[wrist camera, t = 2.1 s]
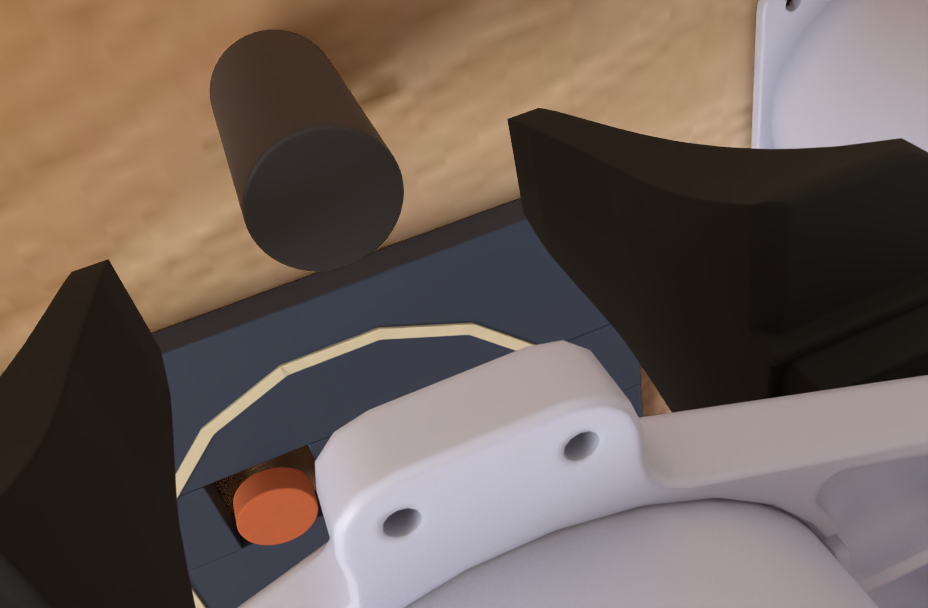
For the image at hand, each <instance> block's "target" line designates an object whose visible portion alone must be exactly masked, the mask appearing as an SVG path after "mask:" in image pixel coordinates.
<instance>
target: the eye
mask: <svg viewBox="0 0 928 608" xmlns="http://www.w3.org/2000/svg"><path fill="white" fill-rule="evenodd" d="M233 506H234V512H235V518H236V524H237V529H238V531H239V533H240V534H241V535H242V536H243V537H244V538H245V539H246V540H248V541H250V542H252V543H255V544H259V545H276V544H281V543H285V542H288V541H291V540H293V539H295V538H297V537H299V536H300V535H302V534H303V533H305V532H306V531H307V530H308V529H309V528H310V527H311V526H312V524H313V523H314V521H315V520H316V517H317V514H318V503H317V499H316V495H315V492H314V488H313V485H312V482H311V480H310V478H309V477H308V476H307V475H306V474H305V473H303V472H302V471H300V470H297V469H294V468H290V467H274V468H269V469H265V470H262V471H260V472H257V473H255V474H253V475H252V476H250V477H249V478H247V479H246V480H245V481H244V482H243V483H242V484H241V485H240V486H239V488H238V489H237V491H236V493H235V495H234V499H233Z"/></svg>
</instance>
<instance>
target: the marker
mask: <svg viewBox="0 0 928 608" xmlns="http://www.w3.org/2000/svg"><path fill="white" fill-rule="evenodd" d="M210 100H211V105H212V109H213V113H214V116H215V120H216V123H217V127H218V130H219V133H220V137H221V140H222V144H223V147H224V151H225V154H226V158H227V161H228V165H229V168H230V172H231V175H232V179H233V182H234V186H235V189H236V193H237V196H238V200H239V203H240V207H241V210H242V214H243V217H244V221H245V223H246V226H247V229H248V231H249V233H250V235H251V237H252V238H253V240H254V241H255V242H256V244H257V245H258V246H259V247H260V248H261V249H262V250H263V251H264V252H265V253H266V254H268V255H269V256H270V257H271V258H273V259H275V260H277V261H278V262H280V263H282V264H285V265H287V266H289V267H293V268H296V269H300V270H307V271H328V270H334V269H339V268H342V267H346V266H349V265H351V264H353V263H356V262H358V261H360V260H361V259H363V258H365V257H367V256H368V255H369V254H371V253H372V252H373V251H375V250H376V249H377V248H378V247H379V246H380V245H381V244H382V243H383V242H384V241H385V240H386V239H387V237H388V236H389V234H390V233H391V232H392V230H393V228H394V226H395V225H396V223H397V221H398V218H399V215H400V212H401V208H402V204H403V196H404V187H403V179H402V174H401V171H400V169H399V166H398V164H397V162H396V160H395V158H394V156H393V155H392V153H391V152H390V150H389V149H388V147H387V146H386V144H385V143H384V141H383V140H382V138H381V137H380V135H379V134H378V132H377V131H376V129H375V128H374V126H373V125H372V123H371V122H370V120H369V119H368V117H367V116H366V114H365V113H364V111H363V110H362V108H361V107H360V105H359V104H358V102H357V101H356V99H355V98H354V96H353V95H352V93H351V92H350V90H349V89H348V87H347V86H346V84H345V83H344V81H343V80H342V78H341V77H340V75H339V74H338V72H337V71H336V69H335V68H334V66H333V65H332V63H331V62H330V60H329V59H328V58H327V56H326V55H325V54H324V52H323V51H322V50H321V49H320V48H319V47H318V46H317V45H315V44H314V43H313V42H312V41H310V40H308V39H307V38H305V37H303V36H301V35H298V34H296V33H292V32H289V31H283V30H265V31H259V32H255V33H252V34H249V35H247V36H245V37H243V38H241V39H239V40H238V41H236V42H235V43H234V44H232V45H231V46H230V47H229V48H228V49H227V50H226V51H225V52H224V53H223V55H222V56H221V57H220V59H219V60H218V62H217V64H216V66H215V68H214V71H213V73H212V77H211V82H210Z"/></svg>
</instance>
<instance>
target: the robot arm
mask: <svg viewBox="0 0 928 608" xmlns="http://www.w3.org/2000/svg"><path fill="white" fill-rule="evenodd" d="M786 2H787V0H759V2H758V5H757V12H756V37H755V63H754V88H753V114H752V139H751V148H731V147H718V146H709V145H701V144H692V143H685V142H678V141H672V140H667V139H662V138H657V137H652V136H647V135H643V134H638V133H634V132H630V131H626V130H622V129H618V128H614V127H611V126H607V125H603V124H600V123H596V122H592V121H589V120H585V119H582V118H578V117H575V116H571V115H568V114H564V113H560V112H556V111H552V110H548V109H542V108H538V109H535V110H532V111H529V112H526V113H523V114H520V115H518V116H515V117H512V118H509V119H508V125H509V131H510V136H511V142H512V148H513V154H514V160H515V166H516V172H517V178H518V183H519V189H520V195H521V201H522V207H523V213H524V215H525V217H526V219H527V220H528V222H529V224H530V225H531V227H532V229H533V230H534V232H535V233H536V235H537V237H538V238H539V240H540V241H541V243H542V244H543V246H544V247H545V249H546V250H547V252H548V253H549V254H550V255H551V257H552V258H553V259H554V260H555V261H556V263H557V264H558V265H559V266H560V267H561V268H562V269H563V271H564V272H565V273H566V274H567V275H568V276H569V277H570V279H571V280H572V281H573V282H574V283H575V284H576V285H577V287H578V288H579V289H580V290H581V291H582V292H583V293H584V294H585V296H586V297H587V298H588V299H589V300H590V301H591V302H592V303H593V305H594V306H595V307H596V308H597V309H598V310H599V311H600V312H601V314H602V315H603V316H604V317H605V318H606V319H607V320H608V321H609V323H610V324H611V325H612V326H613V327H614V329H615V330H616V331H617V332H618V334H619V335H620V336H621V337H622V339H623V340H624V341H625V343H626V344H627V345H628V347H629V348H630V350H631V351H632V353H633V354H634V356H635V357H636V359H637V360H638V362H639V363H640V364H641V366H642V367H643V369H644V370H645V372H646V373H647V375H648V376H649V378H650V379H651V381H652V382H653V384H654V385H655V387H656V388H657V390H658V392H659V393H660V395H661V396H662V398H663V399H664V401H665V402H666V404H667V405H668V407H669V409H670V410H671V412H672V413H666V414H659V415H653V416H646V417H639V418H638V416H637V414H636V412H635V410H634V408H633V406H632V404H631V402H630V401H629V399H628V398H627V397H626V396H625V394H624V393H623V392H622V390H621V389H620V388H619V387H618V385H617V384H616V383H615V381H614V380H613V379H612V378H611V376H610V375H609V374H608V372H607V371H606V370H605V369H604V367H603V366H602V365H601V363H600V362H599V361H598V360H597V358H596V357H595V356H594V354H593V353H592V352H591V351H590V350H589V349H586V348H583V347H580V346H577V345H575V344H572V343H569V342H566V341H564V340H561V341H555V342H550V343H544V344H539V345H533V346H527V347H525V348H522V349H520V350H517V351H515V352H512V353H510V354H507V355H505V356H502V357H500V358H497V359H495V360H492V361H490V362H487V363H485V364H482V365H480V366H477V367H475V368H472V369H470V370H467V371H465V372H462V373H460V374H457V375H455V376H452V377H450V378H447V379H445V380H442V381H440V382H437V383H435V384H432V385H430V386H427V387H425V388H422V389H420V390H417V391H415V392H412V393H410V394H407V395H405V396H402V397H400V398H397V399H395V400H392V401H390V402H387V403H385V404H382V405H380V406H377V407H375V408H372V409H370V410H368V411H366V412H365V413H363V414H361V415H360V416H358V417H357V418H355V419H354V420H352V421H350V422H349V423H347V424H346V425H344V426H343V427H341V428H340V429H338V430H336V431H335V432H334V433H333V434H332V436H331V437H330V439H329V440H328V442H327V444H326V445H325V447H324V448H323V450H322V451H321V453H320V455H319V456H318V458H317V459H316V461H315V475H316V490H317V494H318V498H319V501H320V505H321V508H322V512H323V515H324V519H325V522H326V526H327V529H328V533H329V536H330V539H329V541H328V542H327V543H325V544H324V545H323V546H321V547H320V548H319V549H317V550H316V551H314V552H313V553H312V554H310V555H309V556H308V557H306V558H305V559H303V560H302V561H301V562H299V563H298V564H297V565H295V566H294V567H292V568H291V569H290V570H288V571H287V572H286V573H284V574H283V575H281V576H280V577H279V578H277V579H276V580H275V581H273V582H272V583H270V584H269V585H268V586H266V587H265V588H264V589H262V590H261V591H259V592H258V593H257V594H255V595H254V596H253V597H251V598H250V599H248V600H247V601H246V602H244V603H243V604H241V605H240V606H239V607H237V608H928V0H792V1H791V2H790V4H789V5H788V6H786ZM0 608H196V607H195V602H194V597H193V592H192V587H191V582H190V578H189V573H188V568H187V562H186V557H185V551H184V546H183V540H182V535H181V530H180V524H179V516H178V507H177V494H176V475H175V456H174V437H173V420H172V405H171V395H170V390H169V385H168V380H167V375H166V371H165V366H164V362H163V358H162V353H161V349H160V347H159V346H158V344H157V342H156V341H155V339H154V337H153V335H152V334H151V332H150V330H149V329H148V327H147V325H146V323H145V322H144V320H143V318H142V316H141V315H140V313H139V311H138V310H137V308H136V306H135V304H134V303H133V301H132V299H131V297H130V296H129V294H128V292H127V291H126V289H125V287H124V285H123V284H122V282H121V280H120V278H119V277H118V275H117V273H116V272H115V270H114V268H113V266H112V265H111V263H110V261H109V259H108V260H105V261H102V262H99V263H96V264H93V265H91V266H88V267H85V268H82V269H79V270H76V271H73V272H71V274H70V275H69V276H68V278H67V279H66V280H65V282H64V283H63V285H62V286H61V288H60V289H59V291H58V292H57V294H56V296H55V297H54V299H53V300H52V302H51V304H50V305H49V307H48V308H47V310H46V312H45V313H44V315H43V316H42V318H41V319H40V321H39V322H38V324H37V325H36V327H35V329H34V330H33V332H32V333H31V335H30V336H29V338H28V339H27V341H26V342H25V344H24V345H23V347H22V348H21V349H20V351H19V352H18V354H17V355H16V356H15V358H14V359H13V360H12V362H11V363H10V364H9V366H8V367H7V369H6V370H5V371H4V373H3V374H2V375H1V377H0Z"/></svg>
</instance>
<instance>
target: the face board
mask: <svg viewBox="0 0 928 608" xmlns="http://www.w3.org/2000/svg"><path fill="white" fill-rule="evenodd" d="M152 335H153V337H154V339H155V341H156V342H157V344H158V346H159V347H160V349H161V353H162V358H163V362H164V366H165V371H166V375H167V380H168V385H169V390H170V395H171V405H172V420H173V437H174V456H175V475H176V494H177V507H178V516H179V524H180V530H181V535H182V540H183V546H184V551H185V557H186V562H187V568H188V573H189V578H190V582H191V587H192V592H193V597H194V602H195V607H196V608H237V607H239V606H240V605H241V604H243V603H244V602H246V601H247V600H248V599H250V598H251V597H253V596H254V595H255V594H257V593H258V592H259V591H261V590H262V589H264V588H265V587H266V586H268V585H269V584H270V583H272V582H273V581H275V580H276V579H277V578H279V577H280V576H281V575H283V574H284V573H286V572H287V571H288V570H290V569H291V568H292V567H294V566H295V565H297V564H298V563H299V562H301V561H302V560H303V559H305V558H306V557H308V556H309V555H310V554H312V553H313V552H314V551H316V550H317V549H319V548H320V547H321V546H323V545H324V544H325V543H327V542H328V541H329V539H330V536H329V533H328V529H327V526H326V522H325V519H324V515H323V512H322V508H321V505H320V501H319V498H318V494H317V492H315V495H316V499H317V503H318V514H317V517H316V520H315V521H314V523H313V524H312V526H311V527H310V528H309V529H308V530H307V531H306V532H305V533H303V534H302V535H300V536H299V537H297V538H295V539H293V540H291V541H288V542H285V543H281V544H276V545H259V544H255V543H252V542H250V541H248V540H246V539H245V538H244V537H243V536H242V535H241V534H240V533H239V531H238V529H237V524H236V519H235V517H234V516H233V514H232V512H231V511H230V509H229V507H228V506H227V504H226V502H225V501H224V499H223V498H222V496H221V494H220V493H219V491H218V489H217V488H216V486H215V484H214V483H213V482H216V481H218V480H221V479H223V478H226V477H228V476H231V475H233V474H236V473H238V472H241V471H243V470H246V469H248V468H251V467H253V466H256V465H258V464H261V463H263V462H266V461H268V460H271V459H273V458H276V457H278V456H281V455H283V454H286V453H288V452H291V451H293V450H296V449H298V448H301V447H303V446H306V445H308V447H309V449H310V451H311V453H312V455H313V457H314V459H315V461H316V459H317V458H318V456H319V455H320V453H321V451H322V450H323V448H324V447H325V445H326V444H327V442H328V440H329V439H330V437H331V436H332V434H333V433H334V432H335V431H336V430H338V429H340V428H341V427H343V426H344V425H346V424H347V423H349V422H350V421H352V420H354V419H355V418H357V417H358V416H360V415H361V414H363V413H365V412H366V411H368V410H370V409H372V408H375V407H377V406H380V405H382V404H385V403H387V402H390V401H392V400H395V399H397V398H400V397H402V396H405V395H407V394H410V393H412V392H415V391H417V390H420V389H422V388H425V387H427V386H430V385H432V384H435V383H437V382H440V381H442V380H445V379H447V378H450V377H452V376H455V375H457V374H460V373H462V372H465V371H467V370H470V369H472V368H475V367H477V366H480V365H482V364H485V363H487V362H490V361H492V360H495V359H497V358H500V357H502V356H505V355H507V354H510V353H512V352H515V351H517V350H520V349H522V348H525V347H527V346H533V345H539V344H544V343H550V342H555V341H561V340H564V341H566V342H569V343H572V344H575V345H577V346H580V347H583V348H586V349H589V350H590V351H591V352H592V353H593V354H594V356H595V357H596V358H597V360H598V361H599V362H600V363H601V365H602V366H603V367H604V369H605V370H606V371H607V372H608V374H609V375H610V376H611V378H612V379H613V380H614V381H615V383H616V384H617V385H618V387H619V388H620V389H621V390H622V392H623V393H624V394H625V396H626V397H627V398H628V399H629V401H630V402H631V404H632V406H633V408H634V410H635V412H636V414H637V416H638V418H639V417H643V407H642V393H641V375H640V363H639V362H638V360H637V359H636V357H635V356H634V354H633V353H632V351H631V350H630V348H629V347H628V345H627V344H626V343H625V341H624V340H623V339H622V337H621V336H620V335H619V334H618V332H617V331H616V330H615V329H614V327H613V326H612V325H611V324H610V323H609V321H608V320H607V319H606V318H605V317H604V316H603V315H602V314H601V312H600V311H599V310H598V309H597V308H596V307H595V306H594V305H593V303H592V302H591V301H590V300H589V299H588V298H587V297H586V296H585V294H584V293H583V292H582V291H581V290H580V289H579V288H578V287H577V285H576V284H575V283H574V282H573V281H572V280H571V279H570V277H569V276H568V275H567V274H566V273H565V272H564V271H563V269H562V268H561V267H560V266H559V265H558V264H557V263H556V261H555V260H554V259H553V258H552V257H551V255H550V254H549V253H548V252H547V250H546V249H545V247H544V246H543V244H542V243H541V241H540V240H539V238H538V237H537V235H536V233H535V232H534V230H533V229H532V227H531V225H530V224H529V222H528V220H527V219H526V217H525V215H524V213H523V207H522V201H521V199H518V200H515V201H513V202H510V203H507V204H504V205H502V206H499V207H496V208H493V209H491V210H488V211H485V212H483V213H480V214H477V215H474V216H472V217H469V218H466V219H464V220H461V221H458V222H455V223H453V224H450V225H447V226H444V227H442V228H439V229H436V230H434V231H431V232H428V233H425V234H423V235H420V236H417V237H414V238H412V239H409V240H406V241H404V242H401V243H398V244H395V245H393V246H390V247H387V248H384V249H382V250H379V251H376V252H374V253H371V254H369V255H368V256H367V257H365V258H363V259H361V260H360V261H358V262H356V263H353V264H351V265H349V266H346V267H342V268H339V269H334V270H328V271H322V272H319V273H316V274H314V275H311V276H308V277H305V278H303V279H300V280H297V281H294V282H292V283H289V284H286V285H284V286H281V287H278V288H275V289H273V290H270V291H267V292H264V293H262V294H259V295H256V296H254V297H251V298H248V299H245V300H243V301H240V302H237V303H234V304H232V305H229V306H226V307H224V308H221V309H218V310H215V311H213V312H210V313H207V314H204V315H202V316H199V317H196V318H194V319H191V320H188V321H185V322H183V323H180V324H177V325H174V326H172V327H169V328H166V329H164V330H161V331H158V332H155V333H153V334H152Z"/></svg>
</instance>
